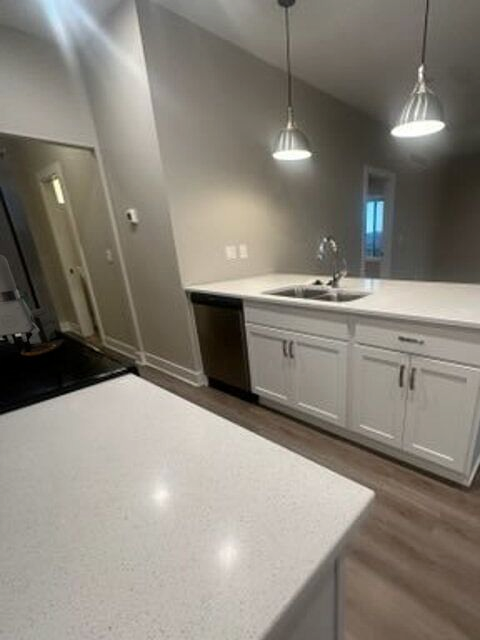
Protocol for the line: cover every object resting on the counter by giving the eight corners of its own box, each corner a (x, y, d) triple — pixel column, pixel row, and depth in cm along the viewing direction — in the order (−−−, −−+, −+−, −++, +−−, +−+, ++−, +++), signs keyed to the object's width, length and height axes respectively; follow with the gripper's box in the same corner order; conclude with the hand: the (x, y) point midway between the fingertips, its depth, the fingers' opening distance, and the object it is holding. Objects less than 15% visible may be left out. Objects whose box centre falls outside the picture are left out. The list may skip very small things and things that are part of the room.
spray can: (37, 332, 145) (20, 284, 137) (42, 334, 142) (25, 285, 134) (22, 336, 141) (3, 287, 133) (27, 338, 138) (8, 288, 130)
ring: (17, 358, 108) (15, 354, 107) (27, 348, 116) (25, 345, 115) (51, 353, 111) (50, 350, 110) (59, 344, 119) (58, 341, 118)
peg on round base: (28, 355, 119) (15, 323, 114) (36, 347, 127) (25, 316, 122) (58, 350, 122) (47, 319, 117) (64, 342, 129) (54, 313, 125)
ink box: (45, 337, 137) (35, 308, 133) (57, 336, 137) (47, 307, 133) (29, 344, 129) (17, 314, 125) (41, 344, 129) (30, 313, 125)
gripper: (-34, 302, 99) (-10, 361, 106) (30, 296, 104) (49, 352, 111) (-22, 297, 106) (0, 352, 113) (37, 291, 110) (55, 345, 118)
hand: (24, 352), depth 112 cm, fingers closed on ring, 1 cm apart
